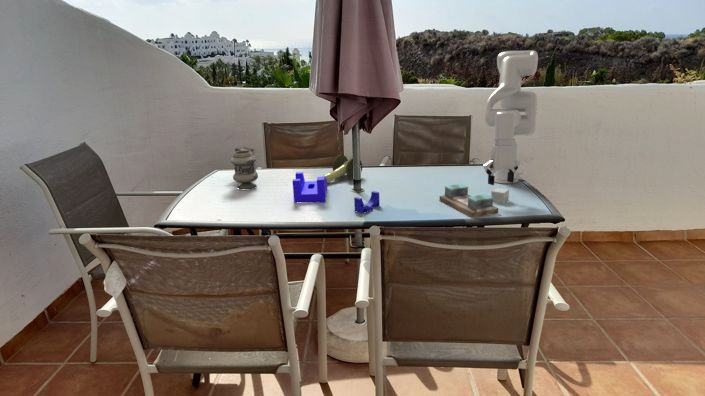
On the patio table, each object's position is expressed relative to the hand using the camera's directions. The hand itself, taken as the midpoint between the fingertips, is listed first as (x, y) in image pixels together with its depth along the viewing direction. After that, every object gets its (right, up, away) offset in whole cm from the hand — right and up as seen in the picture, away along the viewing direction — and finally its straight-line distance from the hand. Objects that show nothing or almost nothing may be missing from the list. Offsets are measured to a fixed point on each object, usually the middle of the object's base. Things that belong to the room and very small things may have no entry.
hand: (500, 183), depth 193 cm
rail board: (-14, -10, -2) cm, 17 cm away
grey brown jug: (-117, +4, +54) cm, 129 cm away
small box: (+1, -8, +3) cm, 8 cm away
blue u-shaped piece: (-55, -11, 0) cm, 56 cm away
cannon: (-68, +3, +45) cm, 82 cm away
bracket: (-80, -5, +21) cm, 83 cm away
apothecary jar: (-114, -1, +37) cm, 120 cm away
